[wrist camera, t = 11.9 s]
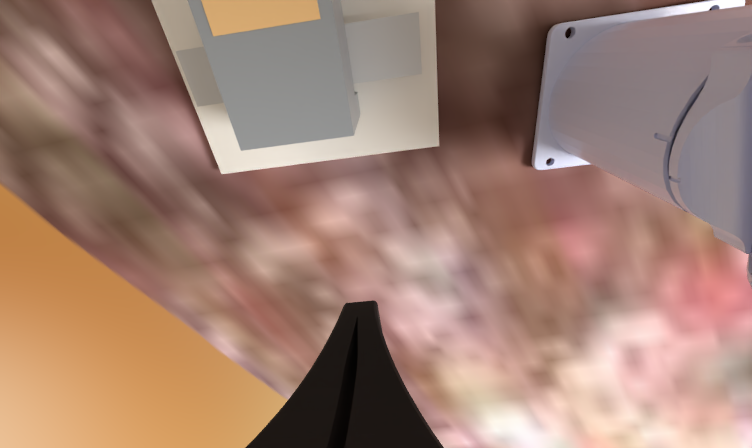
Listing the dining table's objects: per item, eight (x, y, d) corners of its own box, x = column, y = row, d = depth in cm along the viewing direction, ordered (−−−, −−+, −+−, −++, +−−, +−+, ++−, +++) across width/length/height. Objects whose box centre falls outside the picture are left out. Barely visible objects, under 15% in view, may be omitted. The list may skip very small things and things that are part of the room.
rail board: (429, -96, 14) (437, -121, 12) (436, 142, 19) (443, 152, 17) (143, -43, 15) (108, -58, 13) (227, 170, 20) (211, 182, 18)
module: (337, -41, 14) (316, -92, 9) (360, 114, 17) (354, 136, 13) (235, -24, 14) (163, -64, 10) (277, 125, 18) (240, 151, 13)
